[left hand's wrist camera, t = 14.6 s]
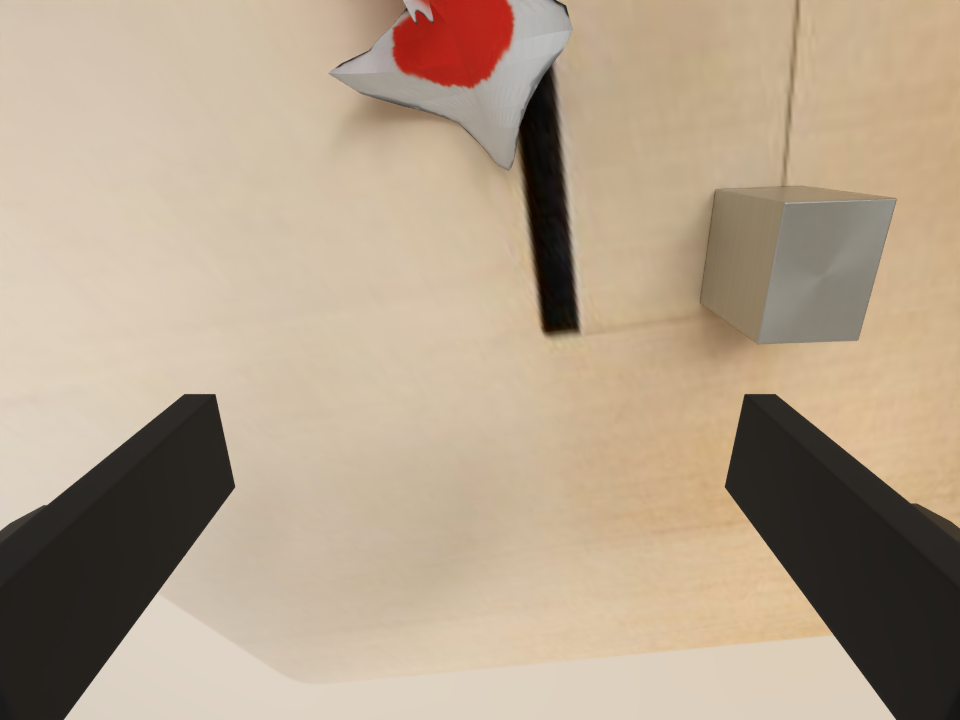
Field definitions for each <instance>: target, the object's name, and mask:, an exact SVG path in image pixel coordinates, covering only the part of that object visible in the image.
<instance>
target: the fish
mask: <svg viewBox="0 0 960 720" xmlns="http://www.w3.org/2000/svg"><path fill="white" fill-rule="evenodd" d="M403 1H404V3H405V5H406V7H407V8H406V9H405V11H404V12H403V13H402V14H401V16H400V17H399V18H398V19H397V21H396V22H395V23H394V25H393V26H392V27H391V28H390V29H389V30H388V31H387V32H385V33H384V34H383V35H382V36H381V37H380V38H379V40H378V41H377V42H376V43H375V44H374V45H373V47H372V48H371V49H370V50H369V51H367V52H365V53H363V54H361V55H359V56H357V57H354V58H352V59H350V60H348V61H346V62H344V63H342V64H340V65H339V66H337V67H336V68H335V69H333V70H332V71H331V72H329V74H330V75H332V76H333V77H335V78H337V79H338V80H340V81H342V82H343V83H345V84H346V85H348V86H350V87H351V88H353V89H354V90H356V91H358V92H359V93H361V94H364V95H367V96H371V97H374V98H378V99H381V100H384V101H388V102H391V103H395V104H398V105H402V106H405V107H409V108H413V109H417V110H421V111H425V112H429V113H433V114H436V115H439V116H441V117H444V118H447V119H450V120H453V121H456V122H458V123H459V124H460V125H461V126H462V127H463V128H464V129H465V130H466V131H467V132H468V133H469V134H470V135H471V136H472V137H474V138H475V139H476V140H477V141H478V142H479V143H480V144H481V145H482V146H483V147H484V149H485V150H486V151H487V153H488V154H489V155H490V157H491V158H492V159H493V160H494V161H495V162H496V164H497V165H498V166H500V167H502V168H504V169H506V170H509V169H510V168H511V167H512V164H513V161H514V156H515V151H516V146H517V140H518V132H519V126H520V123H521V121H522V118H523V115H524V113H525V110H526V107H527V104H528V102H529V100H530V98H531V97H532V95H533V93H534V91H535V89H536V88H537V86H538V84H539V82H540V80H541V79H542V77H543V75H544V74H545V72H546V71H547V70H548V69H549V67H550V66H551V65H552V63H553V62H554V61H555V60H556V58H557V57H558V56H559V54H560V53H561V52H562V50H563V48H564V46H565V44H566V42H567V40H568V38H569V36H570V34H571V32H572V30H573V29H572V25H571V22H570V18H569V15H568V11H567V8H566V5H564V4H562V3H560V2H558V1H556V0H403Z"/></svg>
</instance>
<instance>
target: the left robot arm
mask: <svg viewBox="0 0 960 720" xmlns="http://www.w3.org/2000/svg"><path fill="white" fill-rule="evenodd" d="M234 488H235V484H234V479H233V474H232V470H231V465H230V460H229V456H228V451H227V446H226V442H225V437H224V432H223V428H222V423H221V418H220V414H219V409H218V404H217V400H216V395H215V394H184V395H183V396H182V397H180V398H179V399H178V400H177V401H175V402H174V403H173V404H172V405H171V406H169V407H168V408H167V409H166V410H164V411H163V412H162V413H161V414H159V415H158V416H157V417H156V418H154V419H153V420H152V421H151V422H150V423H148V424H147V425H146V426H145V427H143V428H142V429H141V430H140V431H138V432H137V433H136V434H135V435H133V436H132V437H131V438H130V439H129V440H127V441H126V442H125V443H124V444H122V445H121V446H120V447H119V448H117V449H116V450H115V451H114V452H112V453H111V454H110V455H109V456H108V457H106V458H105V459H104V460H103V461H101V462H100V463H99V464H98V465H96V466H95V467H94V468H93V469H91V470H90V471H89V472H88V473H87V474H85V475H84V476H83V477H82V478H80V479H79V480H78V481H77V482H75V483H74V484H73V485H72V486H70V487H69V488H68V489H67V490H66V491H64V492H63V493H62V494H61V495H59V496H58V497H57V498H56V499H54V500H53V501H52V502H51V503H49V504H48V505H43V506H42V507H40V508H38V509H36V510H34V511H32V512H30V513H28V514H27V515H25V516H23V517H21V518H19V519H17V520H15V521H14V522H12V523H10V524H9V525H7V526H6V527H5V528H3V529H2V530H1V531H0V720H64V719H65V717H66V716H67V715H68V713H69V712H70V711H71V709H72V708H73V706H74V705H75V704H76V702H77V701H78V700H79V698H80V697H81V696H82V694H83V693H84V692H85V690H86V689H87V687H88V686H89V685H90V683H91V682H92V681H93V679H94V678H95V677H96V675H97V674H98V673H99V671H100V670H101V668H102V667H103V666H104V664H105V663H106V662H107V660H108V659H109V658H110V656H111V655H112V654H113V652H114V651H115V649H116V648H117V647H118V645H119V644H120V643H121V641H122V640H123V639H124V637H125V636H126V635H127V633H128V632H129V630H130V629H131V628H132V626H133V625H134V624H135V622H136V621H137V620H138V618H139V617H140V616H141V614H142V613H143V611H144V610H145V609H146V607H147V606H148V605H149V603H150V602H151V601H152V599H153V598H154V597H155V595H156V594H157V593H158V591H159V590H160V588H161V587H162V586H163V584H164V583H165V582H166V580H167V579H168V578H169V576H170V575H171V574H172V572H173V571H174V569H175V568H176V567H177V565H178V564H179V563H180V561H181V560H182V559H183V557H184V556H185V555H186V553H187V552H188V550H189V549H190V548H191V546H192V545H193V544H194V542H195V541H196V540H197V538H198V537H199V536H200V534H201V533H202V531H203V530H204V529H205V527H206V526H207V525H208V523H209V522H210V521H211V519H212V518H213V517H214V515H215V514H216V512H217V511H218V510H219V508H220V507H221V506H222V504H223V503H224V502H225V500H226V499H227V498H228V496H229V495H230V493H231V492H232V491H233V489H234ZM725 488H726V489H727V491H728V492H729V493H730V495H731V496H732V498H733V499H734V500H735V502H736V503H737V504H738V506H739V507H740V508H741V510H742V511H743V512H744V514H745V515H746V517H747V518H748V519H749V521H750V522H751V523H752V525H753V526H754V527H755V529H756V530H757V531H758V533H759V534H760V536H761V537H762V538H763V540H764V541H765V542H766V544H767V545H768V546H769V548H770V549H771V550H772V552H773V553H774V555H775V556H776V557H777V559H778V560H779V561H780V563H781V564H782V565H783V567H784V568H785V569H786V571H787V572H788V574H789V575H790V576H791V578H792V579H793V580H794V582H795V583H796V584H797V586H798V587H799V588H800V590H801V591H802V593H803V594H804V595H805V597H806V598H807V599H808V601H809V602H810V603H811V605H812V606H813V607H814V609H815V610H816V612H817V613H818V614H819V616H820V617H821V618H822V620H823V621H824V622H825V624H826V625H827V626H828V628H829V629H830V630H831V632H832V633H833V635H834V636H835V637H836V639H837V640H838V641H839V643H840V644H841V645H842V647H843V648H844V649H845V651H846V652H847V654H848V655H849V656H850V658H851V659H852V660H853V662H854V663H855V664H856V666H857V667H858V668H859V670H860V671H861V672H862V674H863V675H864V677H865V678H866V679H867V681H868V682H869V683H870V685H871V686H872V687H873V689H874V690H875V692H876V693H877V694H878V696H879V697H880V698H881V700H882V701H883V702H884V704H885V705H886V706H887V708H888V709H889V711H890V712H891V713H892V715H893V716H894V717H895V719H896V720H960V528H958V527H957V526H956V525H955V524H953V523H952V522H951V521H949V520H947V519H945V518H943V517H941V516H939V515H938V514H936V513H934V512H932V511H930V510H928V509H926V508H924V507H922V506H921V505H919V504H911V503H909V502H908V501H907V500H906V499H904V498H903V497H902V496H901V495H899V494H898V493H897V492H896V491H894V490H893V489H892V488H891V487H890V486H888V485H887V484H886V483H885V482H883V481H882V480H881V479H880V478H878V477H877V476H876V475H875V474H873V473H872V472H871V471H870V470H869V469H867V468H866V467H865V466H864V465H862V464H861V463H860V462H859V461H857V460H856V459H855V458H854V457H852V456H851V455H850V454H849V453H848V452H846V451H845V450H844V449H843V448H841V447H840V446H839V445H838V444H836V443H835V442H834V441H833V440H831V439H830V438H829V437H828V436H827V435H825V434H824V433H823V432H822V431H820V430H819V429H818V428H817V427H815V426H814V425H813V424H812V423H810V422H809V421H808V420H807V419H806V418H804V417H803V416H802V415H801V414H799V413H798V412H797V411H796V410H794V409H793V408H792V407H791V406H789V405H788V404H787V403H786V402H785V401H783V400H782V399H781V398H780V397H778V396H777V395H776V394H745V395H744V400H743V404H742V409H741V414H740V418H739V423H738V428H737V432H736V437H735V442H734V446H733V451H732V456H731V460H730V465H729V470H728V474H727V479H726V484H725Z"/></svg>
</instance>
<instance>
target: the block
mask: <svg viewBox="0 0 960 720" xmlns="http://www.w3.org/2000/svg"><path fill="white" fill-rule="evenodd" d="M895 204H896V198H891V197H883V196H876V195H868V194H861V193H853V192H845V191H838V190H830V189H822V188H815V187H807V186H786V187H760V188H733V189H716V192H715V199H714V206H713V213H712V221H711V228H710V235H709V242H708V249H707V257H706V264H705V271H704V278H703V285H702V293H701V300H700V303H701V304H702V305H703V306H705V307H706V308H708V309H709V310H710V311H712V312H713V313H715V314H716V315H718V316H719V317H720V318H722V319H723V320H725V321H726V322H727V323H729V324H730V325H732V326H733V327H734V328H736V329H737V330H739V331H740V332H741V333H743V334H744V335H746V336H747V337H748V338H750V339H751V340H753V341H754V342H755V343H757V344H776V343H804V342H832V341H857V340H858V339H859V336H860V332H861V328H862V325H863V321H864V317H865V314H866V310H867V306H868V303H869V299H870V295H871V292H872V288H873V284H874V281H875V277H876V273H877V270H878V266H879V262H880V259H881V255H882V251H883V248H884V244H885V240H886V237H887V233H888V229H889V226H890V222H891V218H892V215H893V211H894V207H895Z"/></svg>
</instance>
